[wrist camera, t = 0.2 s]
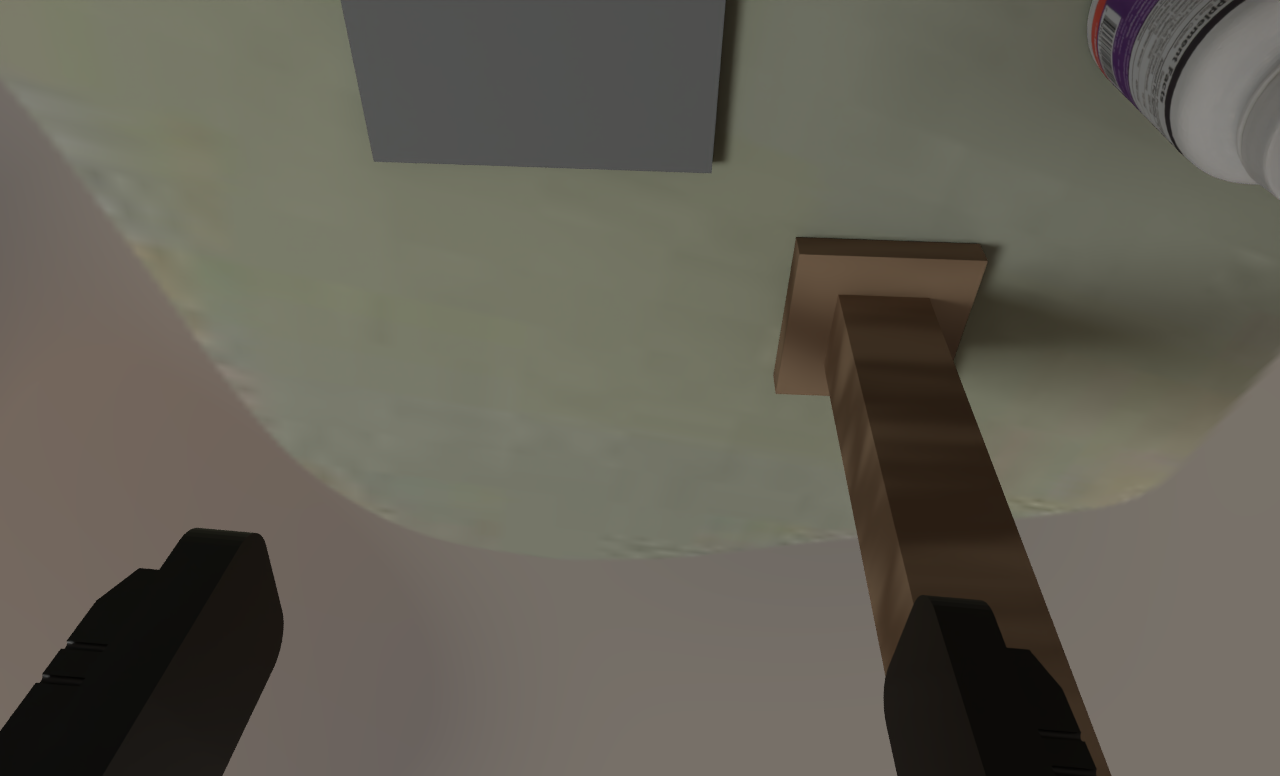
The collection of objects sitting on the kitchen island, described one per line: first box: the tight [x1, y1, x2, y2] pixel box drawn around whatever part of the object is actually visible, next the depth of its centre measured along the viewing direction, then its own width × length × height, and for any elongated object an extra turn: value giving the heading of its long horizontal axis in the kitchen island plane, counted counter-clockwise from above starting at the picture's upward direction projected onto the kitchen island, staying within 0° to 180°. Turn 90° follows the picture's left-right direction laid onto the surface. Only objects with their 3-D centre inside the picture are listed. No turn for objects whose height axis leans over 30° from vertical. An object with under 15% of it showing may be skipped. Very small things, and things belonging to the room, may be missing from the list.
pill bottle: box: [1087, 0, 1280, 200], centre depth 22 cm, size 5×5×10 cm
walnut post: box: [773, 237, 1111, 776], centre depth 25 cm, size 7×7×25 cm
